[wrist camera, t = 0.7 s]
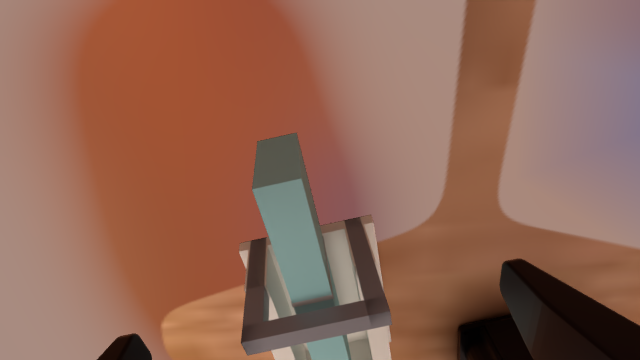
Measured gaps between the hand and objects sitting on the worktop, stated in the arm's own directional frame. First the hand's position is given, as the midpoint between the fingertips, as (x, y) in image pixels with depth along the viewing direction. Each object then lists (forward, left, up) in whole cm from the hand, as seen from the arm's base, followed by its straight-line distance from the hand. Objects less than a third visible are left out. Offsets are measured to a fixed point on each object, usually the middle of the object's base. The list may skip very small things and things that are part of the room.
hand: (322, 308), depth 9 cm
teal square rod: (-8, +1, -11) cm, 14 cm away
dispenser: (-13, +1, -12) cm, 18 cm away
